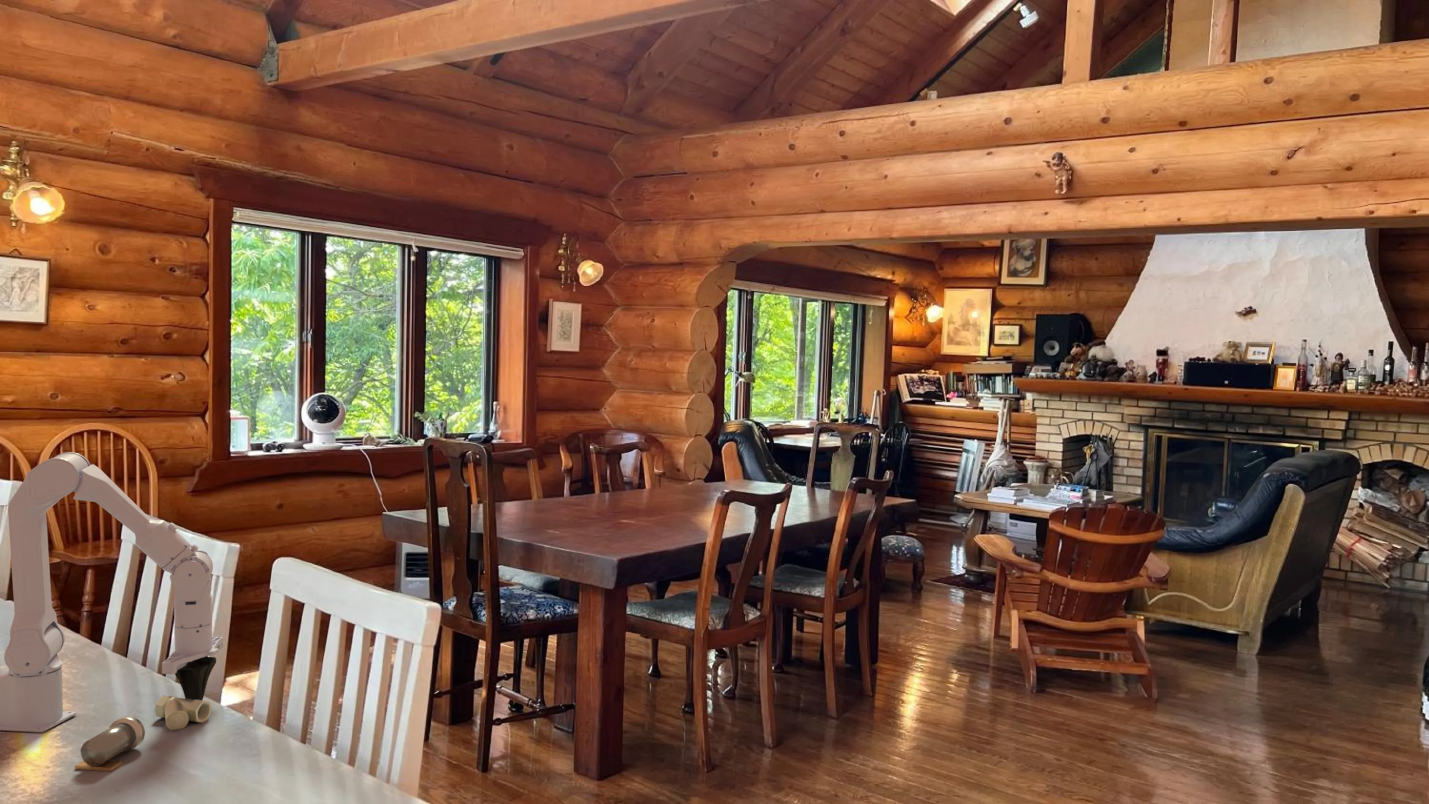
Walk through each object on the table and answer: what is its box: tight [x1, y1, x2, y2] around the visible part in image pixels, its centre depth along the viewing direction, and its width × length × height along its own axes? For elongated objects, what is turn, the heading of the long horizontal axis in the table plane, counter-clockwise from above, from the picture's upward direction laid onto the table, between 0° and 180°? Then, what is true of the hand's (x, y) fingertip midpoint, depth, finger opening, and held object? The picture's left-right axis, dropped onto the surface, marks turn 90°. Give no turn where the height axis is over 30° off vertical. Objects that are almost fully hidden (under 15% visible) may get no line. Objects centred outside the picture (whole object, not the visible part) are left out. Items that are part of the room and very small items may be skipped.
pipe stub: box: [74, 715, 146, 772], centre depth 153 cm, size 8×6×5 cm
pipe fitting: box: [154, 694, 212, 731], centre depth 168 cm, size 8×4×7 cm
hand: (194, 702), depth 174 cm, fingers closed
